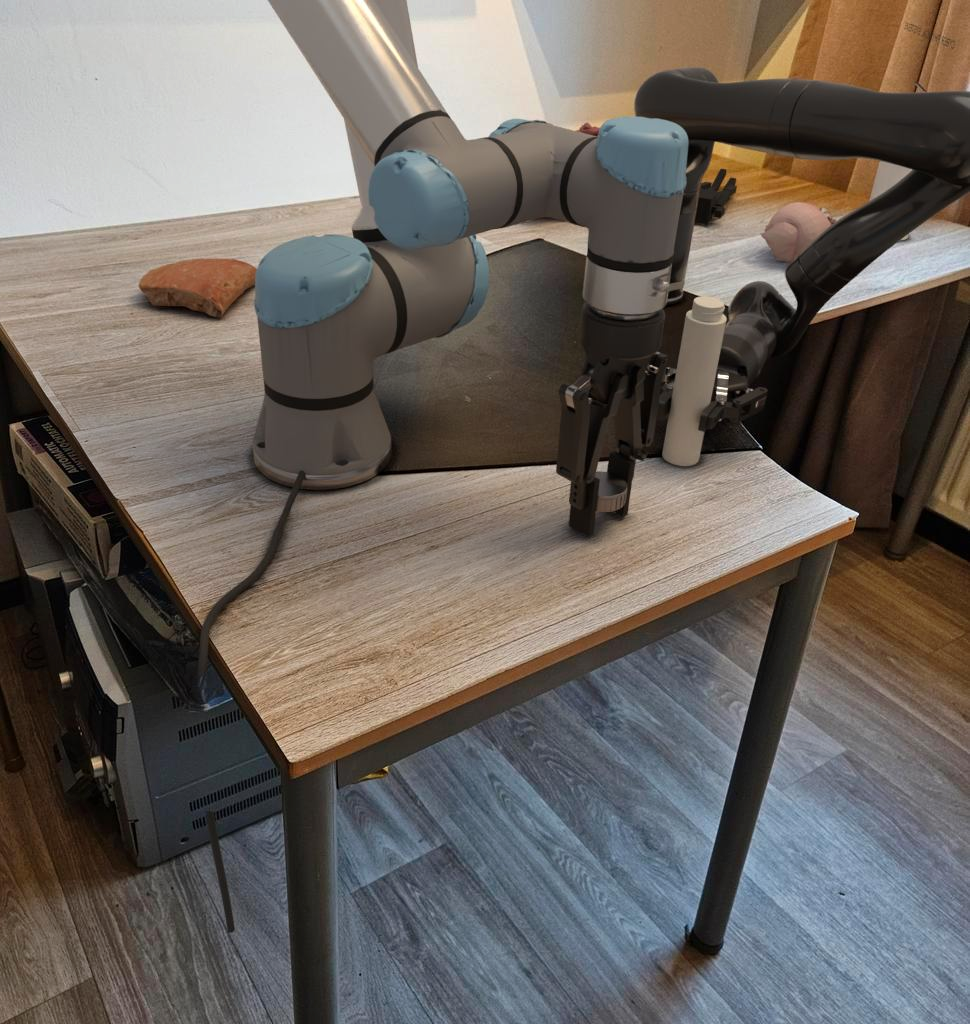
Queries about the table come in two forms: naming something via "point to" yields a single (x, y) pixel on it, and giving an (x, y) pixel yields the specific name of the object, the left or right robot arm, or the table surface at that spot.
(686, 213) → the right robot arm
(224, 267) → the ceramic shard
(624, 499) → the lid
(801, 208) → the toy
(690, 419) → the beige cylindrical rod
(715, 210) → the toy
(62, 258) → the table surface
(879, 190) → the tall white tube
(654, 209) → the left robot arm
